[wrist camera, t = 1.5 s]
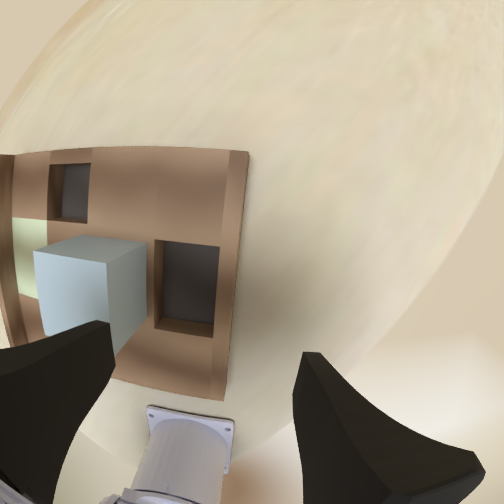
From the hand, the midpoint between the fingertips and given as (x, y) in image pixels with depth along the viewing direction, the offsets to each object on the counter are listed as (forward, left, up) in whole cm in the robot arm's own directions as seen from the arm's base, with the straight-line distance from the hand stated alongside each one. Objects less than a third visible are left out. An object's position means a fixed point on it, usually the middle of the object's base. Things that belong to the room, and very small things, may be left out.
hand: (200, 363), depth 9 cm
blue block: (0, +8, -8) cm, 11 cm away
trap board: (0, +9, -10) cm, 13 cm away
